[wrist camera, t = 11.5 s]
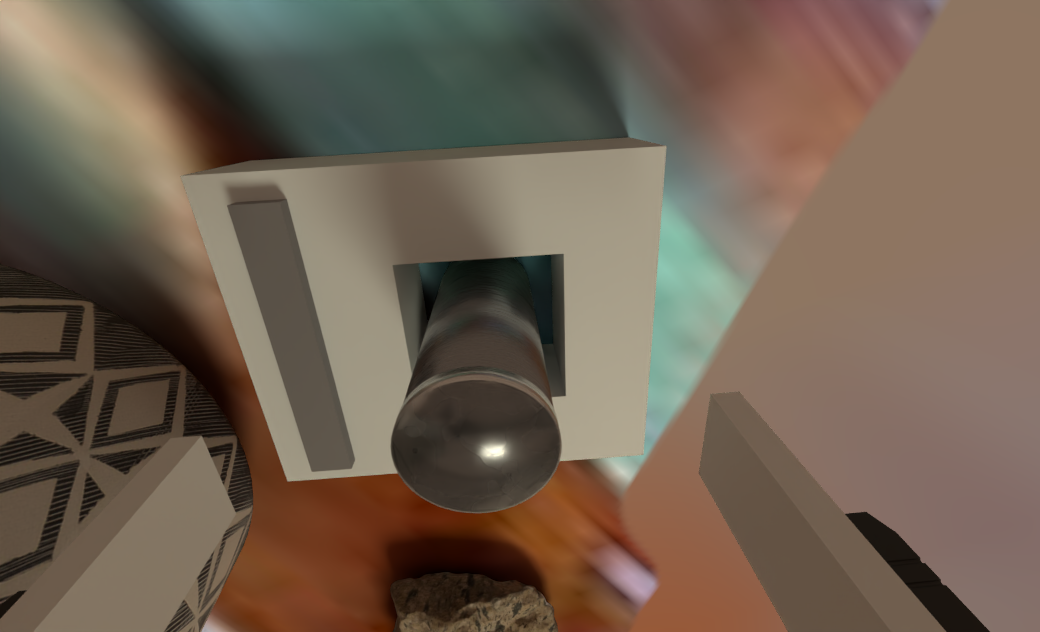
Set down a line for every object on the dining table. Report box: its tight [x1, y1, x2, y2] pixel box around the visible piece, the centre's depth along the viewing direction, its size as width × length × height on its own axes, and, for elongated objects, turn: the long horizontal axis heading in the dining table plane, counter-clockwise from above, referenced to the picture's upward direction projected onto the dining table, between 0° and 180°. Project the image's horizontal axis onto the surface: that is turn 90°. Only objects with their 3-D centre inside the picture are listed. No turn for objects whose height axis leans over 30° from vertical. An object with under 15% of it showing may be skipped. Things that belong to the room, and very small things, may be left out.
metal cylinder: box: [391, 257, 562, 513], centre depth 18 cm, size 5×5×12 cm
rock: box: [390, 572, 558, 632], centre depth 32 cm, size 11×12×4 cm
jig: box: [181, 137, 666, 481], centre depth 21 cm, size 14×17×6 cm
